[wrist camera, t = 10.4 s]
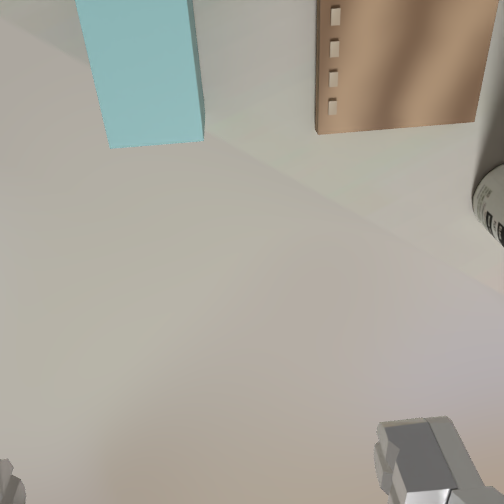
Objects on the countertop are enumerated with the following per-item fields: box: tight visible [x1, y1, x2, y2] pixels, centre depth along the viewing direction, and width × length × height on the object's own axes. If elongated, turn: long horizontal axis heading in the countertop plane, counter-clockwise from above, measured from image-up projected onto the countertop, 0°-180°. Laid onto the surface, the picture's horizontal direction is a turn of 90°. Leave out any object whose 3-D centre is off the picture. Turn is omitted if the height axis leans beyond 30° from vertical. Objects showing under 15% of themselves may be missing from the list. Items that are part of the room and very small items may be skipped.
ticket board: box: [315, 0, 499, 135], centre depth 32 cm, size 12×16×1 cm
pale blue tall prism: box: [75, 0, 205, 149], centre depth 29 cm, size 6×12×6 cm, turn 3°
